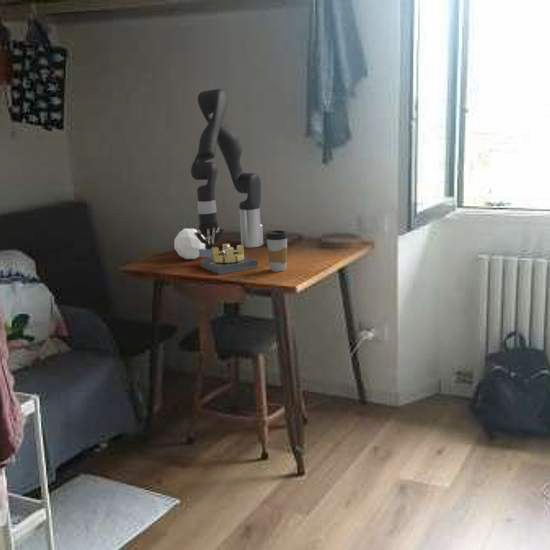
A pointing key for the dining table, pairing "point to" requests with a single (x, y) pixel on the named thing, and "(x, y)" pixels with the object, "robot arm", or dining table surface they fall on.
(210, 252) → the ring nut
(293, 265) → the dining table surface
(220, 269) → the housing
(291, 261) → the dining table surface
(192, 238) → the geodesic sphere
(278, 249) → the coffee cup
